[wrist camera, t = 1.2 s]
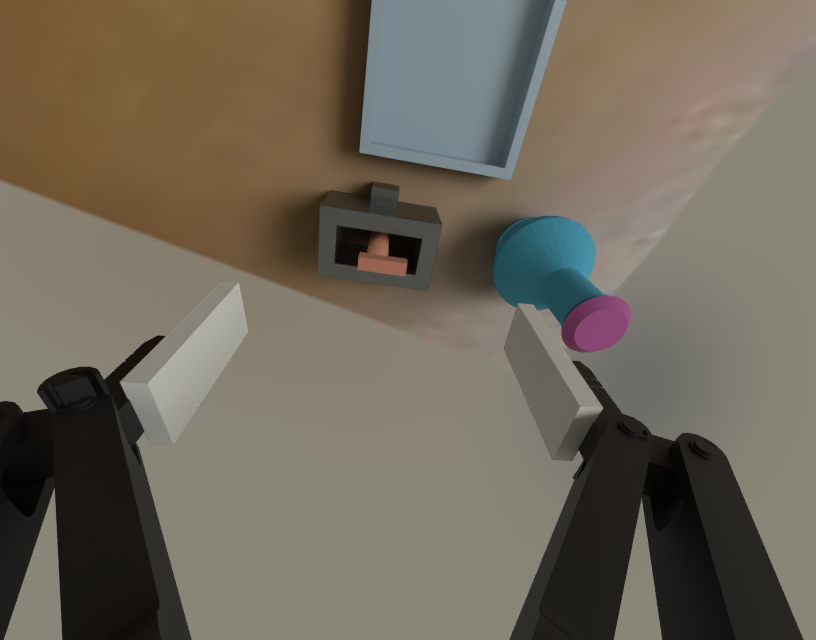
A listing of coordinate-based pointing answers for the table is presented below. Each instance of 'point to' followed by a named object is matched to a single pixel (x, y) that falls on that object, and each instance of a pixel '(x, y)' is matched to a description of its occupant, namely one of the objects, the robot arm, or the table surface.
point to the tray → (455, 80)
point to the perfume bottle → (559, 280)
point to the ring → (380, 217)
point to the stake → (381, 257)
